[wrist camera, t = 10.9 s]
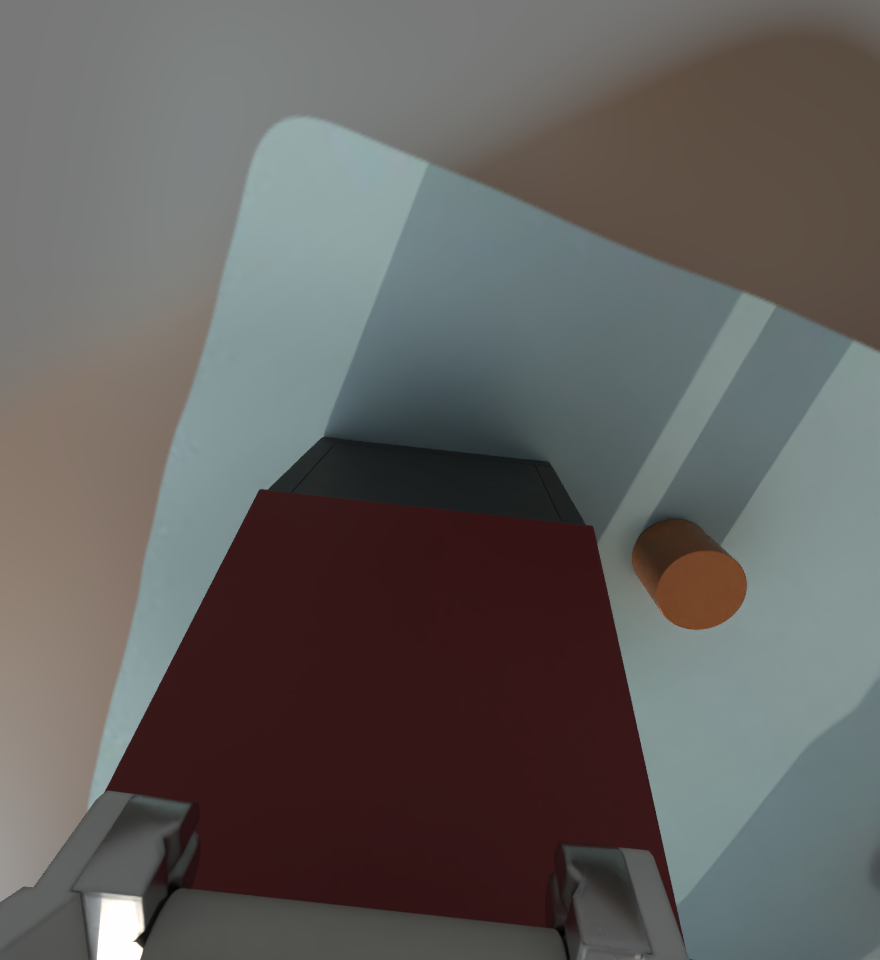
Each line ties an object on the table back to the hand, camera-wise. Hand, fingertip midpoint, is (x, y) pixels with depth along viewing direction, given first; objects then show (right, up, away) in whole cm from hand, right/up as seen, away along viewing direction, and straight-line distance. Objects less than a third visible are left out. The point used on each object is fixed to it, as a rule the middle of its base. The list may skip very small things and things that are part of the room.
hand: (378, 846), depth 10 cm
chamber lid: (0, -1, +6) cm, 6 cm away
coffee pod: (+15, +2, +24) cm, 28 cm away
